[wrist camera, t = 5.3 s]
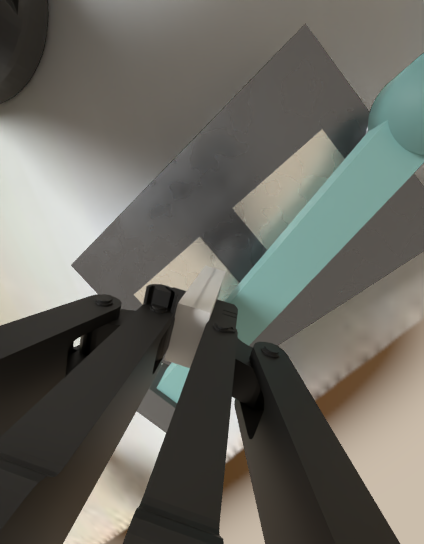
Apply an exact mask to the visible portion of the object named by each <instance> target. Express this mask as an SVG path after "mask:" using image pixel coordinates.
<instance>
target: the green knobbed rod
mask: <svg viewBox="0 0 424 544" xmlns="http://www.w3.org/2000/svg"><path fill="white" fill-rule="evenodd" d="M423 163H424V53H423V54H421V55H420V56H419V57H418V58H417V59H416V60H414V61H413V62H412V63H411V64H410V65H409V66H408V67H406V68H405V69H404V70H403V71H402V72H401V73H399V74H398V75H397V76H396V77H395V78H394V79H393V80H391V81H390V82H389V83H388V84H387V85H386V86H385V87H384V88H383V89H382V90H381V91H380V93H379V94H378V96H377V97H376V99H375V101H374V103H373V105H372V107H371V110H370V113H369V118H368V132H367V134H366V135H365V136H364V137H363V138H362V139H361V141H360V142H359V143H358V144H357V145H356V147H355V148H354V149H353V150H352V151H351V152H350V154H349V155H348V156H347V157H346V158H345V159H344V161H343V162H342V163H341V164H340V165H339V167H338V168H337V169H336V170H335V171H334V172H333V174H332V175H331V176H330V177H329V178H328V179H327V181H326V182H325V183H324V184H323V185H322V187H321V188H320V189H319V190H318V191H317V192H316V194H315V195H314V196H313V197H312V198H311V199H310V201H309V202H308V203H307V204H306V205H305V207H304V208H303V209H302V210H301V211H300V212H299V214H298V215H297V216H296V217H295V218H294V219H293V221H292V222H291V223H290V224H289V225H288V227H287V228H286V229H285V230H284V231H283V232H282V234H281V235H280V236H279V237H278V238H277V239H276V241H275V242H274V243H273V244H272V245H271V247H270V248H269V249H268V250H267V251H266V252H265V254H264V255H263V256H262V257H261V258H260V259H259V261H258V262H257V263H256V264H255V265H254V267H253V268H252V269H251V270H250V271H249V272H248V274H247V275H246V276H245V277H244V278H243V279H242V281H241V282H240V283H239V284H238V285H237V287H236V288H235V289H234V290H233V291H232V292H231V294H230V295H229V296H228V297H227V298H226V299H225V301H224V302H227V303H231V304H234V305H235V306H236V307H237V309H238V314H237V323H236V329H237V332H238V338H239V339H240V340H241V341H242V342H243V343H245V344H247V345H248V346H249V345H250V344H251V343H252V342H253V341H254V340H255V339H256V338H257V337H258V336H259V335H260V334H261V332H262V331H263V330H264V329H265V328H266V327H267V326H268V325H269V324H270V323H271V322H272V321H273V320H274V319H275V318H276V317H277V316H278V315H279V314H280V313H281V312H282V311H283V309H284V308H285V307H286V306H287V305H288V304H289V303H290V302H291V301H292V300H293V299H294V298H295V297H296V296H297V295H298V294H299V293H300V292H301V291H302V290H303V289H304V288H305V286H306V285H307V284H308V283H309V282H310V281H311V280H312V279H313V278H314V277H315V276H316V275H317V274H318V273H319V272H320V271H321V270H322V269H323V268H324V267H325V266H326V265H327V263H328V262H329V261H330V260H331V259H332V258H333V257H334V256H335V255H336V254H337V253H338V252H339V251H340V250H341V249H342V248H343V247H344V246H345V245H346V244H347V243H348V242H349V240H350V239H351V238H352V237H353V236H354V235H355V234H356V233H357V232H358V231H359V230H360V229H361V228H362V227H363V226H364V225H365V224H366V223H367V222H368V221H369V220H370V219H371V217H372V216H373V215H374V214H375V213H376V212H377V211H378V210H379V209H380V208H381V207H382V206H383V205H384V204H385V203H386V202H387V201H388V200H389V199H390V198H391V197H392V195H393V194H394V193H395V192H396V191H397V190H398V189H399V188H400V187H401V186H402V185H403V184H404V183H405V182H406V181H407V180H408V179H409V178H410V177H411V176H412V175H413V174H414V172H415V171H416V170H417V169H418V168H419V167H420V166H421V165H422V164H423ZM189 370H190V368H187V367H184V366H181V365H178V364H175V363H171V364H170V365H169V366H168V365H167V364H166V363H164V362H163V364H162V365H161V368H160V370H159V371H158V373H157V375H156V377H155V379H154V380H153V382H152V384H151V386H150V388H149V389H148V391H147V393H146V395H145V397H144V398H143V400H142V402H141V404H140V406H139V407H138V409H137V412H139V413H140V414H141V415H143V416H144V417H145V418H147V419H148V420H149V421H151V422H152V423H153V424H155V425H156V426H158V427H159V428H160V429H162V430H163V431H164V432H166V433H167V430H168V427H169V424H170V422H171V419H172V416H173V413H174V411H175V408H176V405H177V402H178V400H179V397H180V394H181V392H182V389H183V386H184V383H185V381H186V378H187V375H188V372H189Z"/></svg>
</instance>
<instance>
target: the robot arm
mask: <svg viewBox="0 0 424 544" xmlns="http://www.w3.org/2000/svg"><path fill="white" fill-rule="evenodd" d="M47 23H48V3H47V0H0V103H3V102H5V101H7V100H9V99H10V98H12V97H13V96H15V95H16V94H17V93H18V92H19V91H20V90H21V89H22V88H23V87H24V86H25V85H26V84H27V83H28V81H29V80H30V78H31V77H32V75H33V74H34V72H35V70H36V68H37V66H38V63H39V61H40V58H41V55H42V52H43V48H44V44H45V40H46V33H47ZM225 273H226V271H223V270H220V269H216V268H213V267H209V266H206V265H205V267H204V268H203V269H202V271H201V272H200V273H199V275H198V276H197V278H196V279H195V280H194V282H193V283H192V284H191V286H190V287H189V289H188V290H187V291H184V290H181V289H178V288H174V287H173V288H172V287H169V286H166V285H162V284H150V285H148V286H147V287H146V292H145V297H144V302H143V305H142V306H141V307H140V308H138V309H137V310H136V311H135V310H126V309H121V304H122V302H121V301H120V300H119V299H118V298H116V297H113V296H111V295H107V294H102V295H93V296H89V297H86V298H83V299H80V300H77V301H74V302H71V303H68V304H65V305H62V306H59V307H56V308H53V309H50V310H47V311H44V312H41V313H38V314H35V315H31V316H28V317H25V318H22V319H19V320H16V321H13V322H10V323H7V324H4V325H1V326H0V544H63V542H64V541H65V539H66V537H67V535H68V533H69V532H70V530H71V528H72V526H73V524H74V523H75V521H76V519H77V517H78V515H79V514H80V512H81V510H82V508H83V506H84V505H85V503H86V501H87V499H88V497H89V496H90V494H91V492H92V490H93V488H94V487H95V485H96V483H97V481H98V479H99V478H100V476H101V474H102V472H103V470H104V469H105V467H106V465H107V463H108V461H109V460H110V458H111V456H112V454H113V452H114V451H115V449H116V447H117V445H118V443H119V442H120V440H121V438H122V436H123V434H124V433H125V431H126V429H127V427H128V425H129V424H130V422H131V420H132V418H133V416H134V415H135V413H136V411H137V409H138V407H139V406H140V404H141V402H142V400H143V398H144V397H145V395H146V393H147V391H148V389H149V388H150V386H151V384H152V382H153V380H154V379H155V377H156V375H157V373H158V371H159V370H160V368H161V364H162V360H163V356H164V355H165V353H166V356H165V361H169V362H172V363H175V364H178V365H181V366H184V367H187V368H190V370H189V372H188V375H187V378H186V381H185V383H184V386H183V389H182V392H181V394H180V397H179V400H178V402H177V405H176V408H175V411H174V413H173V416H172V419H171V422H170V424H169V427H168V430H167V433H166V435H165V438H164V441H163V444H162V446H161V449H160V452H159V455H158V457H157V460H156V463H155V466H154V468H153V471H152V474H151V477H150V479H149V482H148V485H147V488H146V490H145V493H144V496H143V498H142V501H141V504H140V506H139V507H138V508H137V509H136V511H135V514H134V516H133V518H132V521H131V523H130V526H129V529H128V531H127V534H126V536H125V539H124V542H123V544H223V538H221V537H220V535H219V523H220V512H221V502H222V492H223V481H224V470H225V461H226V450H227V440H228V430H229V419H230V409H231V399H232V397H234V398H235V410H236V414H237V419H238V423H239V428H240V432H241V437H242V441H243V446H244V450H245V455H246V459H247V464H248V468H249V473H250V477H251V482H252V486H253V491H254V495H255V500H256V504H257V509H258V513H259V518H260V522H261V527H262V531H263V536H264V540H265V544H400V543H399V541H398V539H397V538H396V536H395V534H394V533H393V531H392V529H391V528H390V526H389V524H388V523H387V521H386V519H385V518H384V516H383V514H382V513H381V511H380V509H379V508H378V506H377V504H376V503H375V501H374V499H373V497H372V496H371V494H370V492H369V491H368V489H367V488H366V486H365V484H364V482H363V481H362V479H361V478H360V476H359V474H358V472H357V471H356V469H355V467H354V466H353V464H352V462H351V461H350V459H349V457H348V456H347V454H346V452H345V451H344V449H343V447H342V446H341V444H340V442H339V441H338V439H337V437H336V436H335V434H334V432H333V431H332V429H331V427H330V426H329V424H328V422H327V421H326V419H325V417H324V416H323V414H322V412H321V411H320V409H319V407H318V406H317V404H316V402H315V400H314V399H313V397H312V395H311V394H310V392H309V390H308V389H307V387H306V385H305V384H304V382H303V380H302V379H301V377H300V375H299V374H298V372H297V370H296V369H295V367H294V365H293V364H292V362H291V360H290V359H289V357H288V355H287V354H286V353H285V352H284V350H282V349H281V348H279V347H278V346H277V345H274V344H273V343H268V342H257V343H255V344H254V346H253V348H252V347H250V346H248V345H247V344H245V343H243V342H242V341H241V340H240V339H239V338H238V332H237V329H236V323H237V314H238V309H237V307H236V306H235V305H234V304H231V303H227V302H224V301H221V300H218V297H219V294H220V290H221V287H222V283H223V280H224V276H225ZM79 337H81V339H80V345H78V346H76V347H73V342H74V340H76V339H77V338H79Z"/></svg>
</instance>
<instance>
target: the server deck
mask: <svg viewBox="0 0 424 544" xmlns="http://www.w3.org/2000/svg"><path fill="white" fill-rule="evenodd" d="M369 113H370V112H369V111H368V109H367V108H366V106H365V105H364V104H363V102H362V101H361V100H360V98H359V97H358V95H357V94H356V93H355V91H354V90H353V88H352V87H351V86H350V84H349V83H348V82H347V80H346V79H345V77H344V76H343V75H342V73H341V72H340V71H339V69H338V68H337V66H336V65H335V64H334V62H333V61H332V60H331V58H330V57H329V55H328V54H327V53H326V51H325V50H324V48H323V47H322V46H321V44H320V43H319V42H318V40H317V39H316V37H315V36H314V35H313V33H312V32H311V31H310V29H309V28H308V26H307V25H306V24H305V25H304V26H303V27H302V28H301V29H300V30H299V31H298V32H297V33H296V34H295V35H294V36H293V37H292V38H291V39H290V40H289V41H288V42H287V43H286V44H285V45H284V46H283V47H282V48H281V49H280V50H279V51H278V52H277V53H276V54H275V56H274V57H273V58H272V59H271V60H270V61H269V62H268V63H267V64H266V65H265V66H264V67H263V68H262V69H261V70H260V71H259V72H258V73H257V74H256V75H255V76H254V77H253V78H252V79H251V80H250V81H249V82H248V83H247V84H246V85H245V86H244V87H243V88H242V90H241V91H240V92H239V93H238V94H237V95H236V96H235V97H234V98H233V99H232V100H231V101H230V102H229V103H228V104H227V105H226V106H225V107H224V108H223V109H222V110H221V111H220V112H219V113H218V114H217V115H216V116H215V117H214V118H213V119H212V120H211V121H210V123H209V124H208V125H207V126H206V127H205V128H204V129H203V130H202V131H201V132H200V133H199V134H198V135H197V136H196V137H195V138H194V139H193V140H192V141H191V142H190V143H189V144H188V145H187V146H186V147H185V148H184V149H183V150H182V151H181V152H180V153H179V154H178V155H177V157H176V158H175V159H174V160H173V161H172V162H171V163H170V164H169V165H168V166H167V167H166V168H165V169H164V170H163V171H162V172H161V173H160V174H159V175H158V176H157V177H156V178H155V179H154V180H153V181H152V182H151V183H150V184H149V185H148V186H147V187H146V188H145V189H144V191H143V192H142V193H141V194H140V195H139V196H138V197H137V198H136V199H135V200H134V201H133V202H132V203H131V204H130V205H129V206H128V207H127V208H126V209H125V210H124V211H123V212H122V213H121V214H120V215H119V216H118V217H117V218H116V219H115V220H114V221H113V222H112V223H111V225H110V226H109V227H108V228H107V229H106V230H105V231H104V232H103V233H102V234H101V235H100V236H99V237H98V238H97V239H96V240H95V241H94V242H93V243H92V244H91V245H90V246H89V247H88V248H87V249H86V250H85V251H84V252H83V253H82V254H81V255H80V256H79V257H78V259H77V260H76V261H75V262H74V263H73V264H72V265H71V266H72V267H73V268H74V269H75V270H76V271H77V272H78V273H79V274H80V275H81V276H82V277H83V279H84V280H85V281H86V282H87V283H88V284H89V285H90V286H91V287H92V288H93V289H94V290H95V291H96V293H97V294H98V295H102V294H107V295H111V296H113V297H116V298H118V299H119V300H120V301H121V302H122V304H121V309H126V310H135V311H136V310H137V309H138V308H140V307H141V306H142V305H143V302H144V297H145V292H146V287H147V286H148V285H150V284H162V285H166V286H169V287H172V288H173V287H174V288H178V289H181V290H184V291H187V290H188V289H189V287H190V286H191V284H192V283H193V282H194V280H195V279H196V278H197V276H198V275H199V273H200V272H201V271H202V269H203V268H204V267H205V265H206V266H209V267H213V268H216V269H220V270H223V271H226V273H225V276H224V280H223V283H222V287H221V290H220V294H219V297H218V300H221V301H225V299H226V298H227V297H228V296H229V295H230V294H231V292H232V291H233V290H234V289H235V288H236V287H237V285H238V284H239V283H240V282H241V281H242V279H243V278H244V277H245V276H246V275H247V274H248V272H249V271H250V270H251V269H252V268H253V267H254V265H255V264H256V263H257V262H258V261H259V259H260V258H261V257H262V256H263V255H264V254H265V252H266V251H267V250H268V249H269V248H270V247H271V245H272V244H273V243H274V242H275V241H276V239H277V238H278V237H279V236H280V235H281V234H282V232H283V231H284V230H285V229H286V228H287V227H288V225H289V224H290V223H291V222H292V221H293V219H294V218H295V217H296V216H297V215H298V214H299V212H300V211H301V210H302V209H303V208H304V207H305V205H306V204H307V203H308V202H309V201H310V199H311V198H312V197H313V196H314V195H315V194H316V192H317V191H318V190H319V189H320V188H321V187H322V185H323V184H324V183H325V182H326V181H327V179H328V178H329V177H330V176H331V175H332V174H333V172H334V171H335V170H336V169H337V168H338V167H339V165H340V164H341V163H342V162H343V161H344V159H345V158H346V157H347V156H348V155H349V154H350V152H351V151H352V150H353V149H354V148H355V147H356V145H357V144H358V143H359V142H360V141H361V139H362V138H363V137H364V136H365V135H366V134H367V132H368V118H369ZM423 251H424V186H423V185H422V184H421V182H420V181H419V180H418V178H417V177H416V175H415V174H413V175H412V176H411V177H410V178H409V179H408V180H407V181H406V182H405V183H404V184H403V185H402V186H401V187H400V188H399V189H398V190H397V191H396V192H395V193H394V194H393V195H392V197H391V198H390V199H389V200H388V201H387V202H386V203H385V204H384V205H383V206H382V207H381V208H380V209H379V210H378V211H377V212H376V213H375V214H374V215H373V216H372V217H371V219H370V220H369V221H368V222H367V223H366V224H365V225H364V226H363V227H362V228H361V229H360V230H359V231H358V232H357V233H356V234H355V235H354V236H353V237H352V238H351V239H350V240H349V242H348V243H347V244H346V245H345V246H344V247H343V248H342V249H341V250H340V251H339V252H338V253H337V254H336V255H335V256H334V257H333V258H332V259H331V260H330V261H329V262H328V263H327V265H326V266H325V267H324V268H323V269H322V270H321V271H320V272H319V273H318V274H317V275H316V276H315V277H314V278H313V279H312V280H311V281H310V282H309V283H308V284H307V285H306V286H305V288H304V289H303V290H302V291H301V292H300V293H299V294H298V295H297V296H296V297H295V298H294V299H293V300H292V301H291V302H290V303H289V304H288V305H287V306H286V307H285V308H284V309H283V311H282V312H281V313H280V314H279V315H278V316H277V317H276V318H275V319H274V320H273V321H272V322H271V323H270V324H269V325H268V326H267V327H266V328H265V329H264V330H263V331H262V332H261V334H260V335H259V336H258V337H257V338H256V339H255V340H254V341H253V342H252V343H251V344H250V345H249V346H250V347H252V348H253V346H254V344H255V343H257V342H268V343H273V344H274V345H277V346H278V345H279V344H281V343H282V342H284V341H285V340H287V339H288V338H290V337H292V336H293V335H295V334H296V333H298V332H299V331H301V330H302V329H304V328H305V327H307V326H309V325H310V324H312V323H313V322H315V321H316V320H318V319H319V318H321V317H322V316H324V315H326V314H327V313H329V312H330V311H332V310H333V309H335V308H336V307H338V306H339V305H341V304H343V303H344V302H346V301H347V300H349V299H350V298H352V297H353V296H355V295H357V294H358V293H360V292H361V291H363V290H364V289H366V288H367V287H369V286H370V285H372V284H374V283H375V282H377V281H378V280H380V279H381V278H383V277H384V276H386V275H387V274H389V273H391V272H392V271H394V270H395V269H397V268H398V267H400V266H401V265H403V264H405V263H406V262H408V261H409V260H411V259H412V258H414V257H415V256H417V255H418V254H420V253H422V252H423ZM165 356H166V353H165V355H164V356H163V360H162V363H163V362H164V363H166V364H167V365H168V366H169V365H170V364H171V363H172V362H169V361H165Z"/></svg>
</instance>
